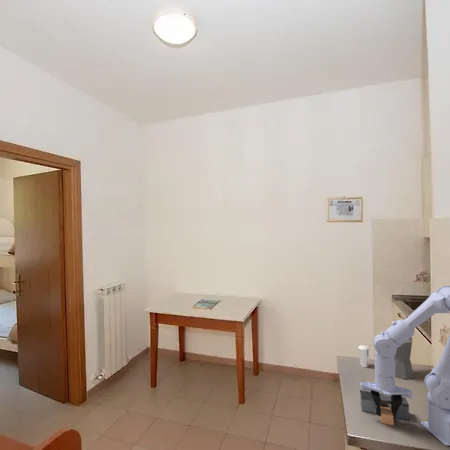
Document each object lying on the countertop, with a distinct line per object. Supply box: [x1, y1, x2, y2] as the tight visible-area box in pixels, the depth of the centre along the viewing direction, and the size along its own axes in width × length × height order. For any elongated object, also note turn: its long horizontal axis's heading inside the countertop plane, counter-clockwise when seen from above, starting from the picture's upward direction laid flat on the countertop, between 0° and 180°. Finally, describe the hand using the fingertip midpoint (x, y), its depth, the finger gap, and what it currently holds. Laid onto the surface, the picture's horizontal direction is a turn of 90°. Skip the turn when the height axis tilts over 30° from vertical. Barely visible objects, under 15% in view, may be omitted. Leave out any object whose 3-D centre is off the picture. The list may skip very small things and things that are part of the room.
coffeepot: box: [394, 336, 414, 380], centre depth 120 cm, size 15×9×18 cm, turn 121°
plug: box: [379, 403, 395, 426], centre depth 94 cm, size 12×3×3 cm, turn 159°
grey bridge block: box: [359, 389, 410, 421], centre depth 95 cm, size 4×14×5 cm, turn 70°
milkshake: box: [357, 344, 372, 369], centre depth 127 cm, size 4×5×10 cm
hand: (386, 415), depth 90 cm, fingers closed on plug, 3 cm apart
